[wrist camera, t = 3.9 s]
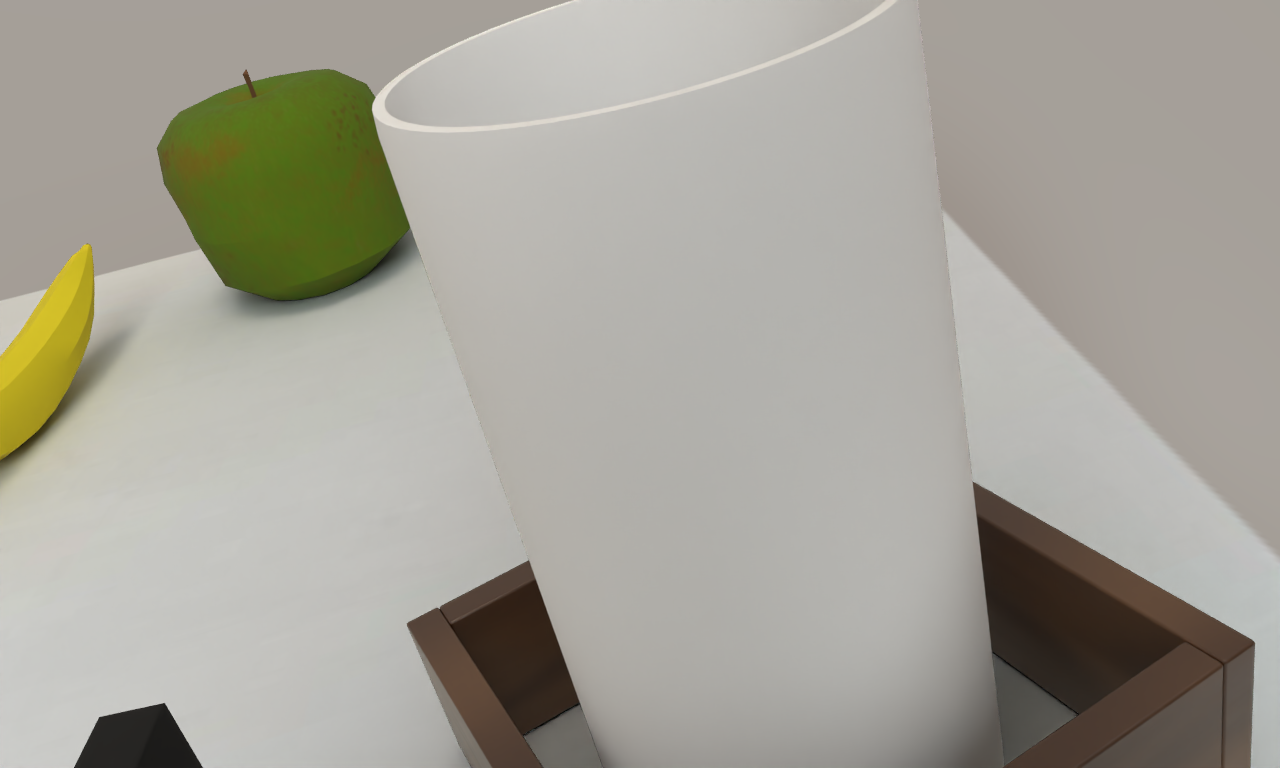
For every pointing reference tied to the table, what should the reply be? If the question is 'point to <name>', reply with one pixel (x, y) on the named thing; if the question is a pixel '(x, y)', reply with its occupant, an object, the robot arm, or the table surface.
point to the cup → (716, 369)
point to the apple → (285, 183)
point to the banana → (46, 353)
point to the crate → (1019, 632)
